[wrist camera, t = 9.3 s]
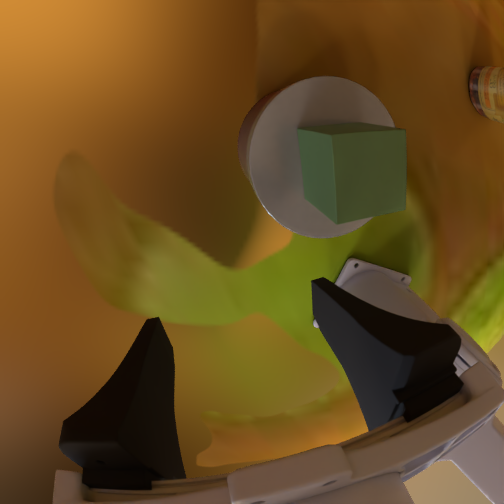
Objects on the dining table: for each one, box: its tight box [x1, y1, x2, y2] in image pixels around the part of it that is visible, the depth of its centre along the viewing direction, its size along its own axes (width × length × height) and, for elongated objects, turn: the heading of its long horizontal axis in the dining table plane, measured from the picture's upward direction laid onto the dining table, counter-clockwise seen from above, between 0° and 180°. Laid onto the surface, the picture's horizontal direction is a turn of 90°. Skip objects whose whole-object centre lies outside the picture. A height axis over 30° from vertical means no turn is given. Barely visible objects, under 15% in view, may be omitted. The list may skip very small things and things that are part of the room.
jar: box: [238, 76, 395, 238], centre depth 18 cm, size 10×10×6 cm
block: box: [297, 122, 407, 225], centre depth 14 cm, size 4×4×4 cm
